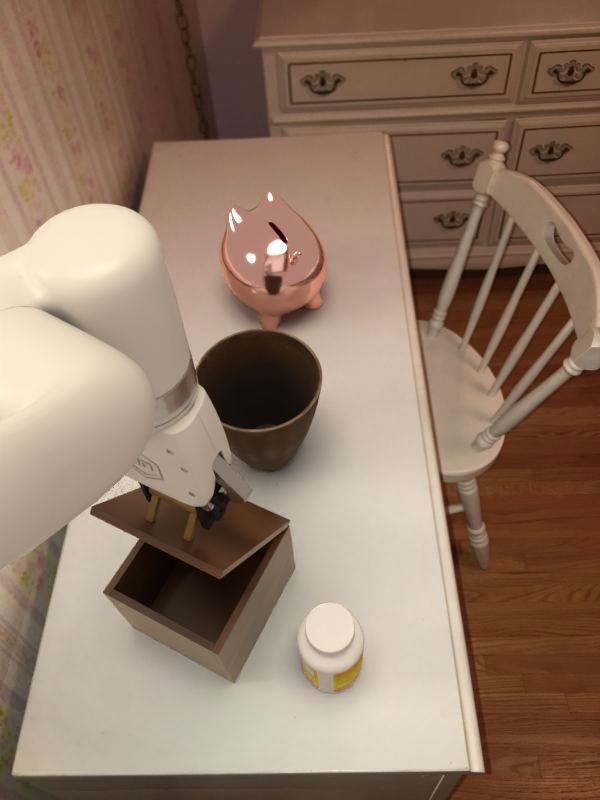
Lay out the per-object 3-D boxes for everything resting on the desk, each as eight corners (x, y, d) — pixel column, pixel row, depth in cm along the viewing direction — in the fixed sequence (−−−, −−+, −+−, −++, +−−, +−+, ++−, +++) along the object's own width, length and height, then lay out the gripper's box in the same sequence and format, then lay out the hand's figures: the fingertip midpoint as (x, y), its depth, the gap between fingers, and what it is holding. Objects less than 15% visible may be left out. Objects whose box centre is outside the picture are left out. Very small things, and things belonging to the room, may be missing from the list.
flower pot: (338, 419, 89) (339, 344, 76) (302, 512, 81) (296, 446, 68) (239, 393, 93) (224, 316, 80) (195, 479, 85) (170, 410, 72)
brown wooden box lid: (220, 579, 53) (237, 522, 52) (89, 514, 57) (102, 459, 56) (288, 526, 67) (303, 480, 66) (180, 477, 71) (192, 433, 70)
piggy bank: (286, 246, 111) (279, 164, 98) (346, 308, 102) (347, 227, 89) (207, 282, 106) (189, 202, 94) (262, 350, 97) (251, 272, 84)
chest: (234, 683, 70) (218, 655, 60) (132, 627, 74) (102, 592, 64) (295, 567, 77) (289, 525, 68) (199, 521, 81) (181, 476, 72)
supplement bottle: (367, 639, 72) (372, 601, 62) (354, 701, 68) (357, 672, 58) (309, 624, 73) (305, 584, 63) (293, 684, 70) (286, 652, 59)
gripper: (8, 375, 45) (87, 499, 59) (218, 468, 40) (248, 578, 54) (76, 305, 48) (135, 437, 63) (275, 381, 43) (289, 506, 58)
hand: (187, 501), depth 58 cm, fingers closed on brown wooden box lid, 5 cm apart
